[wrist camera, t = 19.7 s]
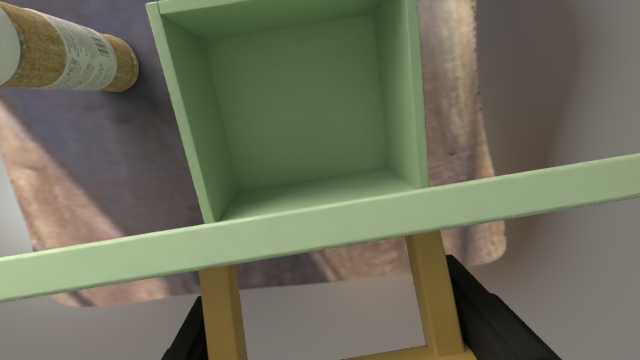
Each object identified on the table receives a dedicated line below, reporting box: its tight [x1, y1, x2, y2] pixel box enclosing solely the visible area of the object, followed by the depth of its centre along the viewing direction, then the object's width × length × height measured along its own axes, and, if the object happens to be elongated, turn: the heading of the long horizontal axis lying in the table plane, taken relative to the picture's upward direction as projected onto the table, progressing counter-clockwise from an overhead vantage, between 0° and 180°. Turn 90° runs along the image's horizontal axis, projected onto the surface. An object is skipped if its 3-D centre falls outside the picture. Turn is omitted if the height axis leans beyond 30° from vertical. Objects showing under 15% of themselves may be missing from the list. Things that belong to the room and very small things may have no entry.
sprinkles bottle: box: [0, 2, 139, 92], centre depth 19 cm, size 5×5×14 cm
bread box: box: [146, 0, 429, 224], centre depth 23 cm, size 14×15×9 cm
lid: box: [0, 153, 640, 360], centre depth 13 cm, size 15×15×5 cm
